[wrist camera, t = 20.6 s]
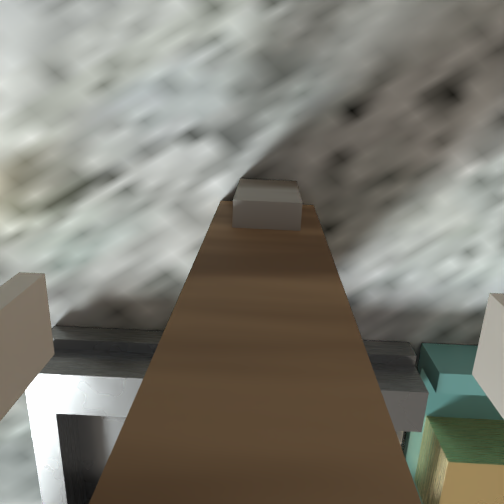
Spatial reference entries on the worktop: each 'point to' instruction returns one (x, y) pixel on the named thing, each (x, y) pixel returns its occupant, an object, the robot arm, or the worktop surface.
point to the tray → (448, 391)
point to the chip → (461, 461)
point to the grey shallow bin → (124, 392)
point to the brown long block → (259, 377)
